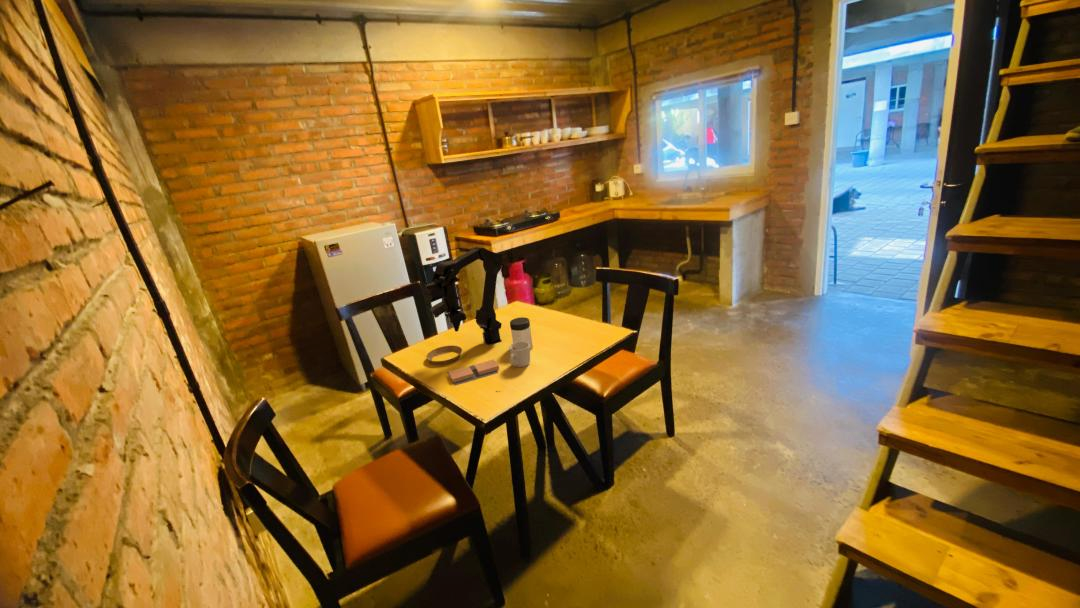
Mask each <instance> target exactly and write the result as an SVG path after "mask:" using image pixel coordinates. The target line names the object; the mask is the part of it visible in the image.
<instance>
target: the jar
mask: <svg viewBox="0 0 1080 608" xmlns="http://www.w3.org/2000/svg"><path fill="white" fill-rule="evenodd" d="M530 323H531V321H530V319H529V318H528V317H524V316H523V317H515V318H513V319H511V320H510V321H509V326H510V332H511V338H512V344H513V343H515V342H521V341H523V342H528V343H529V344H530V350H531V349H533V348H534V345H533V338H532V331H531V330H532V329H531V324H530Z"/></svg>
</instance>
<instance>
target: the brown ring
mask: <svg viewBox="0 0 1080 608" xmlns="http://www.w3.org/2000/svg"><path fill="white" fill-rule="evenodd" d="M462 352H463V349H462V347H460V346H458V345H443V346H440V347H436V348H434V349H432V350H431V351H429V352H428V353H427V354H426V355H425V356H426V359H427V360H428V361H429V362H431V363H432V364H435V365H444V364H449V363H451V362H454V361H456V360H458V359H459V357H460V356H461V354H462ZM450 353H456V354H457V355H456V356H454V357H451V358H448V359H445V360H439V361H437V360H433V358H435V357H439V356H441V355H442V356H443V355H446V354H450Z"/></svg>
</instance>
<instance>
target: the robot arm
mask: <svg viewBox="0 0 1080 608" xmlns="http://www.w3.org/2000/svg"><path fill="white" fill-rule="evenodd" d="M477 260H480V261H482V265H483V266H482V267H483V269H484V272H485V273H484V274H485V275H484V282H483V283H484V285H483V293H482V303H481V306H480V307H479V309H476V310H475V317H474V319H475V323H476V325H477V326H478V327H479V328H480V329H481V330H482V331H483V332H482V339H483V342H484V343H485V344H486V345H487V346H490V345H494V344H497V343H501V342H502V339H501V335H500V329H502V322H500V321H498V320H497V314H496V312H495V308H494V307H495V296H496V288H497V279H498V274H499V272H500V271H501V270H502V266H503V263H504V257H503V256H502V254H501V253H500V252H494V251H491V250H488V249H487V248H485V247H482V246H474V247H473V248H472V249H471V250H469V251H467V252H465V253H464V254H462V255H460V256H458V257H457V258H454V259H451V260H447V261H442V262H438V264H436V265H435V271H434V274H433V276H432V279H431V283H427V284H425V285H424V289H423V291H422V296H423V297H422V298H423V299H424V301H425V302H426V303H427V304H431V303H433V302H436V301H438V300H441V301H440V302H438V303H436V304H434V305H433V306H431V307H430V308H429V311H430V312H431V314H432V315H433V317H434V318H435V319H437V318H439V317H440V316H441V315H442V314H444V313H446V314H444V316H445V317H446V319H447V320H448V322H449V323H451V325H452V327H453V330H454V332H456V333H457V332H459V330H460V326H461V323H462V321H466V320H467V315H466V314H467V313H465V312H464V311H462V308H461V305H460V301H459V300H460V297H459V295H458V289H457V285H456V283H457V282H459V281H460V278H458V277H457V276H458V274H459V273H460V271H461V270H462V269H464V268H465V267H468V266H470V265H471V264H473V263H474V262H476V261H477Z"/></svg>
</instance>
